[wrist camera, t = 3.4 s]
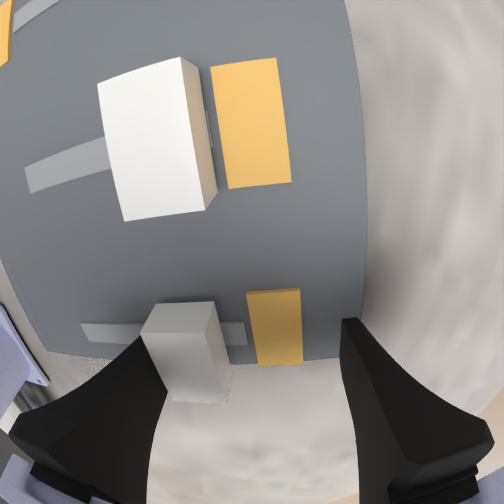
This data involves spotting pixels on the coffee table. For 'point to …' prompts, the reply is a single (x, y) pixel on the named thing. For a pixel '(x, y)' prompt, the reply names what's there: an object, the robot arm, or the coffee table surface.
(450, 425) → the robot arm
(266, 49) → the switch board
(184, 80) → the switch
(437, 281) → the coffee table surface
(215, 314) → the switch
